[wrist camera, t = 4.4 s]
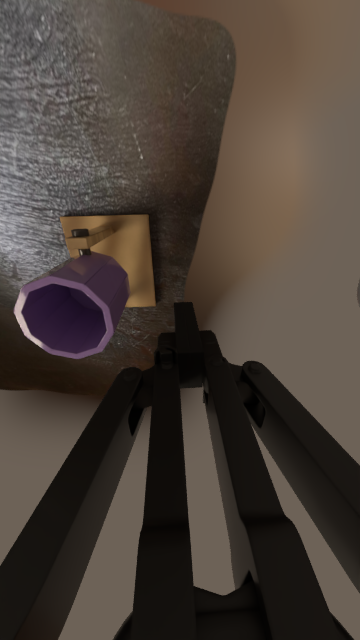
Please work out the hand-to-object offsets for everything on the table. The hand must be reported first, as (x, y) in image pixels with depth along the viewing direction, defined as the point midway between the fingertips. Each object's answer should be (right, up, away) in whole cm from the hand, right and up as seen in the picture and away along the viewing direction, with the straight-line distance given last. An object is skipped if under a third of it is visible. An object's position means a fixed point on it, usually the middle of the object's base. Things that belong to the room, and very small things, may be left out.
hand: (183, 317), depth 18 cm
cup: (-10, +4, +8) cm, 13 cm away
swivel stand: (-11, +8, +15) cm, 20 cm away
